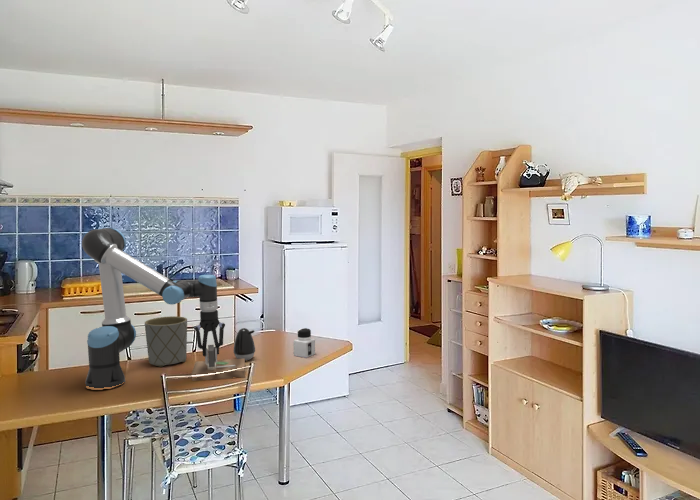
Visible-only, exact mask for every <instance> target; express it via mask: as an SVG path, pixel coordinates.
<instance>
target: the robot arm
mask: <svg viewBox="0 0 700 500" xmlns="http://www.w3.org/2000/svg"><path fill="white" fill-rule="evenodd" d="M126 245H127V240H126V237H125V235H124V233H123V232H121V231H120V230H119V229H116V228H114V227H113V228H111V227H105V228H98V229H96V228H95V229H92V230H89V231H88V232H86V233H85V234H84V235H83V237H82V241H81V246H82V249H83V251H84V253H85V254H86V255H87V256H89V257H90V258H91V259H93V260H94V262H95V263H97V265H98V269H99V276H100V277H99V278H100V286H101V296H102V303H103V312H104V319H103V320H102V322H101V326H99V327H96V328H93V329H92V330H90V331H89V332H88V334H87V341H86V342H87V350H88V351H87V353H88V372H87V375H86V378H85V381H84V383H85V384H86V386H89V387H94V388H104V387H112V386H116V385H119V384H122V383H123V382H125V383H126V376H125V373H124V371H123V369H122V367H121V364H120V363H121V362H120V353H121V352H123V351H125V350H127V349H128V348H130V347H131V346H132V345H133V343H134V341H135V340H136V337H137V331H136V330H137V329H136V328H135V326H134V325H133V324H132V321H131V318H130V317H129V316H128V315H127V310H126V301H125V293H124V284H123V276H122V274H123V275H125V276H127V277H129V279H132V280H134V281H135V282H136V283H139V284H140V285H142V286H144V287H145V288H146V289H149V290H151V291H152V292H153V293H155V294H157V295H158V296H160V297H161V298H162V300H163V301H164V302H165V304H167V305H171V306H172V305H173V306H174V305H176V304H179V303H181V302H182V301H184V300H185V299H188V298H199V310H200V312H199V314H200V315H199V316H200V317H199V318H200V321H199V324H198V325H196V326H195V325H194V326H193V329H194V331H195V335H196V341H197V342H196V343H197V348H198V349H199V350H200V349H201V350H202V356H203V357H204V361H205V363H206V364H208V363H209V362H208V361H209V360H208V347H207V346H208V345H207V343H208V335H209V332H211V333H212V334H211V335H212V337H213V343H214V355H215V363H217V360H218V355H219V354H220V347H221V346H223V345H224V329H225V327H226V324H225V322H220V320H219V311H218V308H219V307H218V284H217V276H216V275H215V274H201V275H199V276H198V279H194V280H193V279H192V280H191V279H190V280H189V279H186V280H185V279H183V280H181V279H178V280H171V279H170V278H168V277H166V276H165V275H163V274H161V273H159V272H158V271H157V270H155V269H153V268H152V267H150V266H148V265H147V264H145V263H143V262H142V261H140V260H138V259H136V258H135V257H133V256H132V255H130V254H128V253H126V252H125V251H124V250H125V247H126ZM217 328H218V329H219V332H218V334H219V335H218V334H217ZM201 329H202V330H203V336H202V338H201ZM85 384H84V385H85Z"/></svg>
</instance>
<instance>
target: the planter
mask: <svg viewBox="0 0 700 500" xmlns="http://www.w3.org/2000/svg"><path fill="white" fill-rule="evenodd" d="M144 329H145V339H146V347H147V356H148V357H147V358H148V364H151V365H153V366H156V367H159V368H163V367H164V366H167V365H174V364H179V363H181V362H183V363H185V362H186V361H187V351H188V350H187V347H188V345H187V344H188V318H187V317H185V316H184V317H183V316H176V315H175V316H173V315H172V316H170V315H169V316H160V317H155V318H154V317H153V318H150V319H148V320H146V321H144Z"/></svg>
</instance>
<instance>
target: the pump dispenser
mask: <svg viewBox="0 0 700 500" xmlns="http://www.w3.org/2000/svg"><path fill="white" fill-rule="evenodd" d="M254 333H255V330H249V329H248V328H246V327H243V328H241V329H239V330H238V332H237V334H236V336H235V340H234V344H233V354H234V357H235V359H245V362H247V361H249V360H251V359H252V358H253V357H254V356H255V352H256V346H255V341H254V337H253V336H252V334H254ZM246 360H247V361H246Z"/></svg>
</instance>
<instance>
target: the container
mask: <svg viewBox="0 0 700 500" xmlns="http://www.w3.org/2000/svg"><path fill="white" fill-rule="evenodd" d="M296 334H297V339H294V340H293V356H294V357H301V358H305V359H306V358H309V357H311V356H314V355H315V354H316V339H315V338H312V331H311V329H310V328H307V327H304V328H303V327H302V328H299V329H298V330H297V333H296Z"/></svg>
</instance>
